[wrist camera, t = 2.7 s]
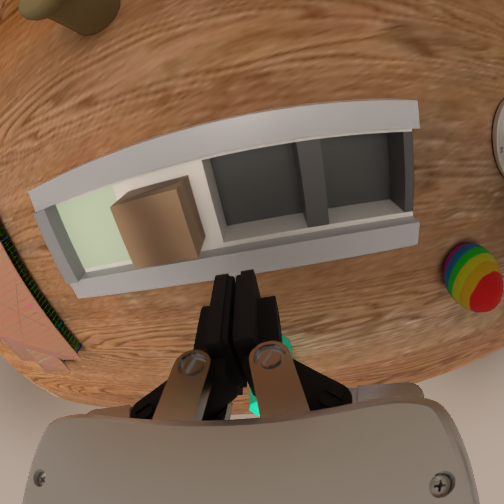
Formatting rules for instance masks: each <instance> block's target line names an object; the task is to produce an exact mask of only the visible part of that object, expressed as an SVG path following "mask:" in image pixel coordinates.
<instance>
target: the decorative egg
mask: <svg viewBox="0 0 504 504" xmlns="http://www.w3.org/2000/svg"><path fill="white" fill-rule="evenodd" d="M444 280H445V284H446V287H447V289H448V291H449V293H450V295H451V296H452V297H453V299H454V300H455V301H456V302H457V303H458V304H460V305H461V306H462V307H464V308H466V309H468V310H470V311H473V312H488V311H491V310H492V309H494V308H495V307H496V306H497V305H498V304H499V302H500V300H501V297H502V292H503V280H502V274H501V271H500V268H499V266H498V264H497V262H496V260H495V259H494V257H493V256H492V255H491V254H490V253H489V252H488V251H487V250H486V249H485V248H483V247H481V246H479V245H477V244H472V243H466V244H461V245H459V246H457V247H456V248H454V249H453V250H452V251H451V252H450V254H449V255H448V257H447V259H446V261H445V265H444Z"/></svg>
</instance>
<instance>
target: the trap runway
mask: <svg viewBox="0 0 504 504" xmlns="http://www.w3.org/2000/svg"><path fill="white" fill-rule="evenodd" d="M412 128H420V123H419V112H418V102H417V100H407V99H392V98H383V99H355V100H339V101H327V102H317V103H308V104H300V105H292V106H285V107H279V108H272V109H266V110H261V111H255V112H250V113H245V114H240V115H235V116H230V117H226V118H221V119H217V120H213V121H208V122H204V123H200V124H197V125H193V126H189V127H185V128H182V129H178V130H175V131H171V132H168V133H165V134H161V135H158V136H155V137H152V138H149V139H146V140H143V141H140V142H137V143H134V144H131V145H128V146H126V147H123V148H120V149H117V150H115V151H112V152H110V153H107V154H105V155H102V156H100V157H97V158H95V159H92V160H90V161H87V162H85V163H83V164H80V165H78V166H76V167H74V168H71V169H69V170H67V171H65V172H63V173H61V174H59V175H56V176H55V177H53V178H51V179H49V180H47V181H45V182H44V183H42V184H40V185H38V186H37V187H35V188H33V189H31V190H30V191H28V193H29V196H30V198H31V201H32V204H33V206H34V209H35V211H36V213H34V214H33V215H34V217H35V220H36V222H37V224H38V227H39V229H40V231H41V234H42V236H43V238H44V240H45V242H46V245H47V247H48V249H49V251H50V253H51V255H52V257H53V259H54V261H55V263H56V265H57V267H58V269H59V271H60V273H61V274H62V276H63V278H64V280H65V282H66V284H70V285H71V287H72V288H73V290H74V292H75V294H76V295H77V297H78V299H79V298H88V297H96V296H104V295H111V294H119V293H127V292H134V291H141V290H149V289H156V288H163V287H170V286H177V285H184V284H191V283H197V282H204V281H211V280H215V276H216V275H221V274H227V273H228V274H229V276H234V277H236V276H237V275H241V271H245V270H251V269H254V272H255V273H262V272H268V271H274V270H280V269H286V268H292V267H298V266H304V265H309V264H315V263H321V262H327V261H332V260H338V259H343V258H349V257H355V256H360V255H365V254H371V253H376V252H381V251H387V250H392V249H397V248H402V247H408V246H413V245H418V237H419V225H420V222H419V221H418V220H417V219H416V218H415V217H414V216H413V198H414V162H413V139H412ZM186 175H188V177H189V181H190V185H191V188H192V192H193V195H194V199H195V202H196V205H197V209H198V212H199V216H200V219H201V222H202V226H203V229H204V232H205V239H204V242H203V245H202V248H201V251H200V254H199V257H198V258H197V259H191V260H185V261H179V262H174V263H168V264H162V265H156V266H150V267H145V268H139V269H135V267H134V265H133V263H132V260H131V258H130V256H129V254H128V251H127V249H126V247H125V244H124V242H123V239H122V237H121V235H120V232H119V230H118V227H117V225H116V222H115V220H114V217H113V214H112V212H111V209H110V207H111V206H112V205H113V204H114V203H115V202H116V201H118V200H119V199H120V198H121V197H122V196H123V195H125V194H126V193H127V192H128V191H131V190H135V189H138V188H141V187H145V186H148V185H152V184H156V183H159V182H163V181H167V180H171V179H174V178H178V177H182V176H186Z"/></svg>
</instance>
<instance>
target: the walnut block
mask: <svg viewBox="0 0 504 504" xmlns="http://www.w3.org/2000/svg"><path fill="white" fill-rule="evenodd" d="M110 209H111V212H112V214H113V217H114V220H115V222H116V225H117V227H118V230H119V232H120V235H121V237H122V239H123V242H124V244H125V247H126V249H127V251H128V254H129V256H130V258H131V260H132V263H133V265H134V267H135V269H139V268H145V267H150V266H156V265H162V264H168V263H174V262H179V261H185V260H191V259H197V258H198V257H199V254H200V251H201V248H202V245H203V242H204V239H205V232H204V229H203V226H202V222H201V219H200V216H199V212H198V209H197V205H196V202H195V199H194V195H193V192H192V188H191V185H190V181H189V177H188V175H186V176H182V177H178V178H174V179H171V180H167V181H163V182H159V183H156V184H152V185H148V186H145V187H141V188H138V189H135V190H131V191H128V192H127V193H126V194H125V195H123V196H122V197H121V198H120V199H119V200H118V201H116V202H115V203H114V204H113V205H112V206H111V207H110Z"/></svg>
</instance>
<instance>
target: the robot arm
mask: <svg viewBox="0 0 504 504" xmlns="http://www.w3.org/2000/svg"><path fill="white" fill-rule="evenodd" d="M493 149H494V155H495V159H496V163H497V165H498V168H499V170H500V172H501V173H502V175H503V176H504V100H503V101H502V102H501V104H500V105H499V107H498V109H497V112H496V115H495V119H494V124H493ZM247 381H248V384H249V386H250V389H251V391H252V394H253V395H254V396H255V397H256V399H257V404H258V409H259V413H260V418H250V419H237V420H230V416H231V411H232V405H233V403H232V400H234V399H235V398H236V397H237V395H243V388H244V387H247ZM434 476H435V477H434ZM441 481H442V482H441ZM441 497H442V498H441ZM23 504H480V503H479V498H478V492H477V488H476V484H475V479H474V475H473V471H472V467H471V464H470V461H469V457H468V454H467V451H466V448H465V446H464V443H463V440H462V438H461V435H460V433H459V431H458V429H457V427H456V425H455V423H454V421H453V419H452V418H451V416H450V415H449V413H448V412H447V410H446V409H445V408H444V407H443V406H442V405H441V404H439V403H438V402H436V401H433V400H430V399H426V398H424V394H423V391H422V389H421V388H420V387H419V386H418V385H416V384H414V383H409V382H404V383H393V384H379V385H359V386H358V387H357V388H347V387H345V386H344V385H342V384H340V383H338V382H336V381H334V380H332V379H330V378H328V377H327V376H325V375H323V374H321V373H319V372H317V371H315V370H313V369H311V368H309V367H307V366H305V365H304V364H302V363H300V362H298V361H296V360H294V359H292V356H291V353H290V351H289V349H288V347H287V346H286V345H285V344H283V343H282V334H281V325H280V318H279V312H278V307H277V302H276V297H275V296H271V297H265V298H260V293H259V289H258V285H257V281H256V276H255V272H254V269H251V270H245V271H241V275H237V276H236V282H235V279H234V276H229V274H228V273H227V274H221V275H216V276H215V280H214V285H213V291H212V297H211V302H210V306H204V307H202V309H201V313H200V318H199V323H198V328H197V333H196V338H195V344H194V349H193V350H190V351H187V352H185V353H183V354H182V355H180V356H179V357H178V358H177V360H176V361H175V363H174V365H173V368H172V370H171V373H170V375H169V378H168V380H167V381H165V382H164V383H163V384H161V385H160V386H159V387H157V388H156V389H155V390H153V391H152V392H151V393H149V394H148V395H146V396H145V397H144V398H142V399H141V400H139V401H138V402H137V403H136V404H135V405H134V406H133V407H131V406H130V405H125V406H118V407H111V408H103V409H95V410H92V411H90V412H89V413H87V414H77V415H69V416H65V417H61V418H58V419H56V420H54V421H53V422H52V423H50V424H49V425H48V427H47V428H46V430H45V431H44V433H43V435H42V438H41V440H40V442H39V444H38V447H37V449H36V453H35V455H34V458H33V462H32V465H31V469H30V472H29V476H28V480H27V484H26V488H25V493H24V497H23Z"/></svg>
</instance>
